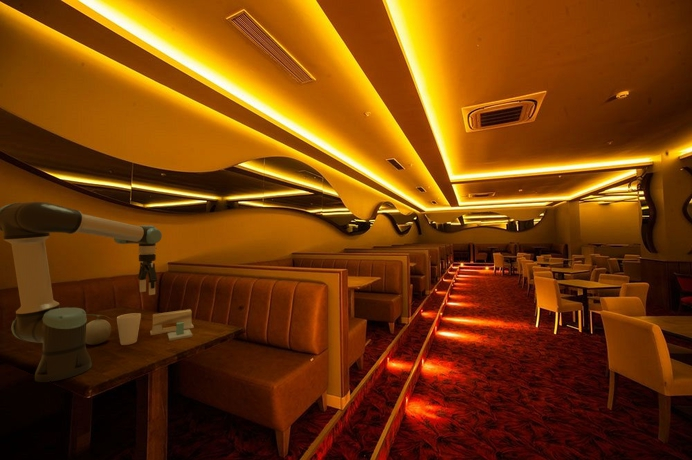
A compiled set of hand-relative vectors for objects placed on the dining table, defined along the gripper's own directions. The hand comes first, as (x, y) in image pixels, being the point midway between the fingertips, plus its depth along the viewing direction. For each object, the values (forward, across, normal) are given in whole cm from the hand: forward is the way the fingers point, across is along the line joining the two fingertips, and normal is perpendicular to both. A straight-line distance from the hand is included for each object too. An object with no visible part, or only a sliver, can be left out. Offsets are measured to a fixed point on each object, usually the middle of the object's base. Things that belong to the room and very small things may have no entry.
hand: (147, 293), depth 153 cm
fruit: (+21, 0, +20) cm, 29 cm away
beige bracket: (+21, -7, -10) cm, 24 cm away
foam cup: (+21, -11, +11) cm, 26 cm away
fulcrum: (+21, -21, -8) cm, 31 cm away
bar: (+17, -7, -10) cm, 20 cm away
